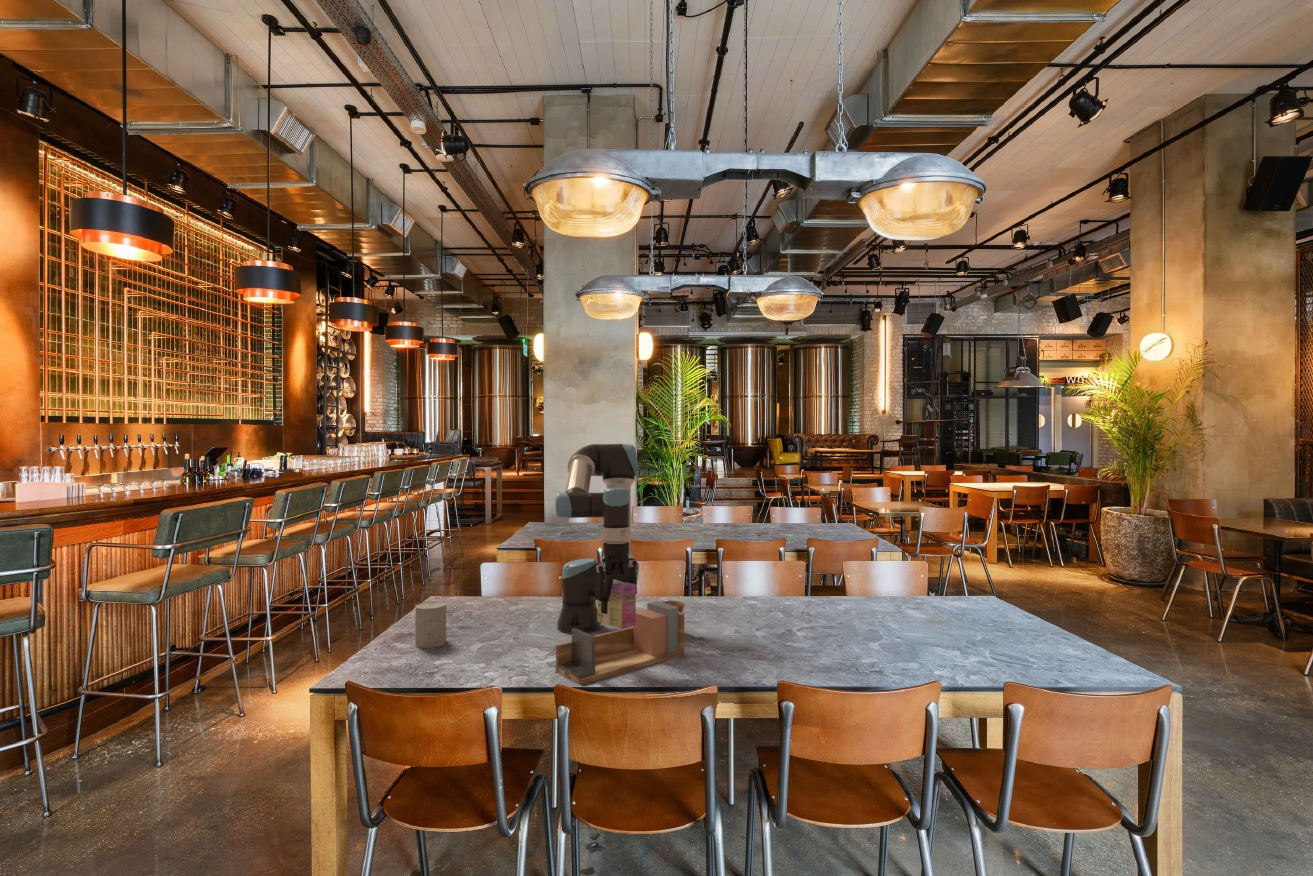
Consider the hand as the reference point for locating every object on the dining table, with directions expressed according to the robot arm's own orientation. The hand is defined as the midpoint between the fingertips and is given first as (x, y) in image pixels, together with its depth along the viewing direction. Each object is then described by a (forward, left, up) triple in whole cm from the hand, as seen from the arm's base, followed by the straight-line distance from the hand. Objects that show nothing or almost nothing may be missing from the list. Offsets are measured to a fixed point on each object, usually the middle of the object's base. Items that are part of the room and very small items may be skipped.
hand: (616, 622), depth 179 cm
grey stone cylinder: (-56, -33, -13) cm, 66 cm away
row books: (-1, +15, -11) cm, 19 cm away
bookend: (-1, -13, -11) cm, 17 cm away
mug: (-12, +31, -13) cm, 36 cm away
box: (0, 0, -1) cm, 1 cm away
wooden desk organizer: (-1, +3, -13) cm, 13 cm away
